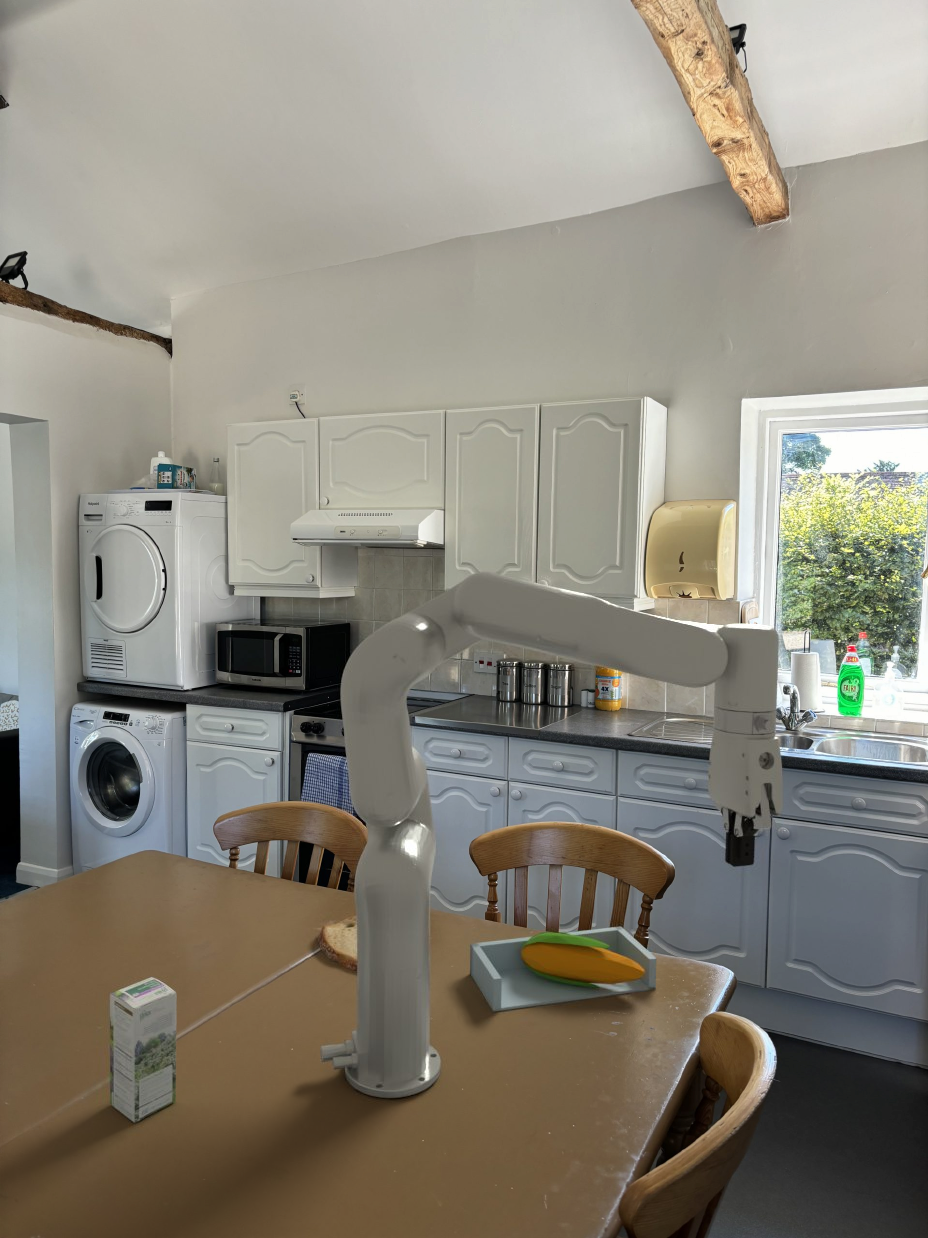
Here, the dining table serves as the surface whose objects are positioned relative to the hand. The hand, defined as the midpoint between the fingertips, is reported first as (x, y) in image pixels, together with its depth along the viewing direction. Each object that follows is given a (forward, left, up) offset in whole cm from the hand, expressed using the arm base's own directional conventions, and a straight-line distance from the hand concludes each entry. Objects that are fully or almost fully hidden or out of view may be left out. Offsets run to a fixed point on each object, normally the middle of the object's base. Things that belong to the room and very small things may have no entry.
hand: (739, 863), depth 110 cm
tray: (-11, +31, -29) cm, 44 cm away
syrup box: (-73, +15, -29) cm, 80 cm away
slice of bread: (-40, +51, -30) cm, 71 cm away
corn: (-8, +29, -29) cm, 42 cm away
